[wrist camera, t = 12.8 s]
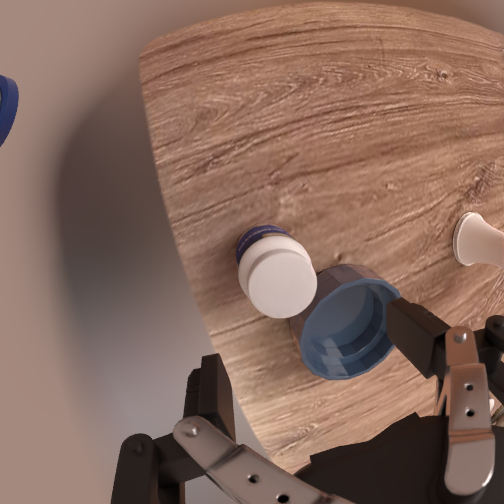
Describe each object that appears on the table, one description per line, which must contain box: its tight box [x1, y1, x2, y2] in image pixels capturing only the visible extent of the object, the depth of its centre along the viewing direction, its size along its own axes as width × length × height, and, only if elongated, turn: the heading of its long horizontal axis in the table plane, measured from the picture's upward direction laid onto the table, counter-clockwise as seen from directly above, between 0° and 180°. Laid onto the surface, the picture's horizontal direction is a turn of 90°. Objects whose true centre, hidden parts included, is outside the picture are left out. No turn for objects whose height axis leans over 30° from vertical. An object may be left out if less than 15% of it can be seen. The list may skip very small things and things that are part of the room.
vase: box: [453, 212, 504, 269], centre depth 25 cm, size 8×8×10 cm
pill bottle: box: [236, 223, 317, 318], centre depth 23 cm, size 6×6×10 cm
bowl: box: [289, 264, 401, 380], centre depth 28 cm, size 12×12×5 cm
